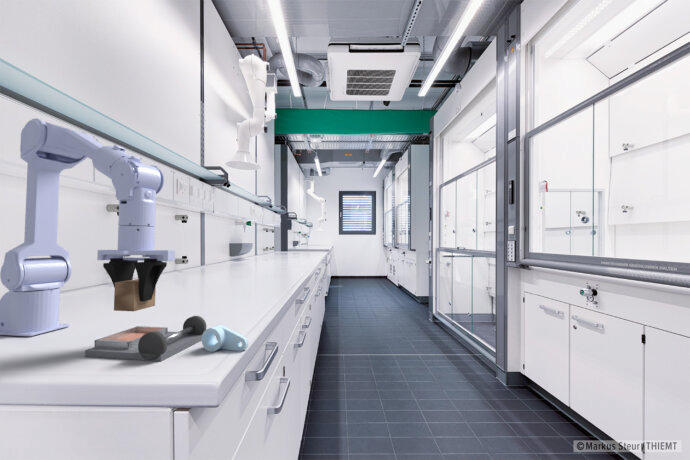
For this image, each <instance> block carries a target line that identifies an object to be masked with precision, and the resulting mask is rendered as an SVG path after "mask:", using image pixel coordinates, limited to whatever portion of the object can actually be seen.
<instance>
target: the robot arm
mask: <svg viewBox="0 0 690 460" xmlns="http://www.w3.org/2000/svg"><path fill="white" fill-rule="evenodd" d="M19 144H20V148H19V152H20V157H19V158H20V160H22V161H24V162H25V163H27V168H26V169H27V170H26V190H25V191H26V192H25V216H24V217H25V218H24V240H23V241H24V242H23V243H21V244H19V245H17V246H15V247H13V248H11V249H10V250H8V251H7V252H5V254H4V260H3V262H2V265H1V268H0V282H1V284H2V285H3V286H4V287H5V288H6V289H7V292H5V293H3V295H2V296H1V298H0V336H16V337H33V336H36V335H41V334H44V333H49V332H52V331H55V330H61V329H64V328H68V327H70V326H71V325H70V324H69V323H60V322H59V321H60V299H61V297H60V296H61V288H64V287H65V284H66V283H67V282H69V280H70V279H71V277H72V274H73V266H72V263H71V260H70V259H71V258H70V252H69V250H67V249H66V248H64V247H63V246H61V245H59V244H58V227H59V225H58V224H59V223H58V221H59V220H58V219H59V197H60V174H61V172H63V171H64V170H69V169H72V168H75V166H78V165H79V164H80V163H82V162H83V161H85V160H86V159H90V160H91V162H92V165H93V167H94V168H95V169H96V170H97V171H98V172H99V173H101V174H103V175H105V176H106V177H107V178H109V179H110V180H111V183H112V186H113V187H114V190H115V198H116V200H117V201H118V223H117V225H118V226H117V249H98V250H97V257H96V258H97V260H96V261H108V262H105V263H103V265H102V266H103V267H102V268H104V270H105V271H106V273H107V275H108V276H109V278H110V280H111V282H112V285H113V288H114V289H115V282H121V281H128V280H134V279H133V278H134V275H135V274H134V273H135V271H136V274H137V279H138V280H139V298H140V301H147V300H151V299H152V296H153V293H154V289H155V286H157V283H158V281H159V279H160V276H161V275H162V273H163V271H164V270H165V268H166V267H167V265H168V262H174V261H176V250H173V249H172V250H171V249H170V250H169V249H168V250H167V249H165V250H164V249H155V241H156V240H155V239H156V237H155V235H156V207H157V206H156V205H157V194H159V193H160V192H161V190H162V189H163V186H164V183H165V177H164V176H165V175H164V173H163V171H162V170H161V168H159V167H158V166H157V165H150V164H146V163H143V162H142V161H141V158H140V157H138V156H135V155H130V154H129V153H127V152H126V148H124V147H123V146H120V145H117V144H114V145H103V144H102V143H100V142H99V141H98V140H97V139H95V138H94V136H93V135H91V134H88V133H87V132H84V131H83V132H82V131H77V130H73V129H70V128H67V127H63V126H61V125H57V124H53V123H51V122H48V121H44V120H42V119H40V118H36V117H35V118H32V119H30V120H28V121H27V122H26V124H25V125H24V126H23V128H22V129H21V132H20V143H19ZM40 256H42V257H40ZM44 256H49V257H44ZM131 256H141V257H131ZM32 257H33V258H32Z"/></svg>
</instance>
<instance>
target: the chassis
mask: <svg viewBox="0 0 690 460" xmlns="http://www.w3.org/2000/svg"><path fill="white" fill-rule="evenodd" d="M182 324H183V325H182V329H181V330H179V331H168V327H165V326H161V327H160V326H159V327H158V326H145V325H143V326H142V325H141V326H140V325H137V326H134V327H131V328H128V329H125V330H121V331H118V332H116V333H113V334H112V333H111V334H110V335H107V336H106V335H105V336H104V337H100V338H98V339H95V340H94V345H93V346H94V347H90V348H88V349H85V350H84V354H85V355H84V356H85V357H92V358H106V359H122V360H133V361H135V360H136V361H139V360H140V361H149V362H150V361H152V362H162V361H165V360H166V359H168V358H171V357H173V356H175V355H177V354H178V353H180V352H182V351H184V350H185V349H188V348H190V347H192V346H194V345H195V344H198V343H200V342H202V334H203V332H204V331H205V330H207V323H206V321H205V319H204V318H203V317H202V316H200V315H192V316H190V317H188V318H187V319H185V320H184V322H183V323H182Z"/></svg>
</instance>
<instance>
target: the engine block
mask: <svg viewBox="0 0 690 460" xmlns="http://www.w3.org/2000/svg"><path fill="white" fill-rule="evenodd" d="M156 286H157V285H156ZM156 286H155V289H154V293H153V296H152V299H151V300H147V301H140V298H139V280H138V278H135V279H132V280H128V281H121V282H115V288H114V296H113V297H114V298H113V311H114V312H115V311H117V312H118V311H119V312H137V311H141V310H145V309H148V308H151V307H156V288H157V287H156Z"/></svg>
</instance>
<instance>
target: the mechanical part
mask: <svg viewBox="0 0 690 460" xmlns="http://www.w3.org/2000/svg"><path fill="white" fill-rule="evenodd" d="M201 345H202V346H203V348H204V349H205V350H206V351H207V352H216V351H218V350H220V349H222V350H230V351H239V352H243V351H245V350H246V349H247V348H248V347H249V339H248V338H247V336H246V337H245V336H244V335H242V334H241V333H239V332H236V331H235V330H233V329H231V328H229V327H227V326H225V325H222V324H217V325H214V326H212V327H208V328H206V330H205V331H204V332H203V334H202V340H201Z"/></svg>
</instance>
